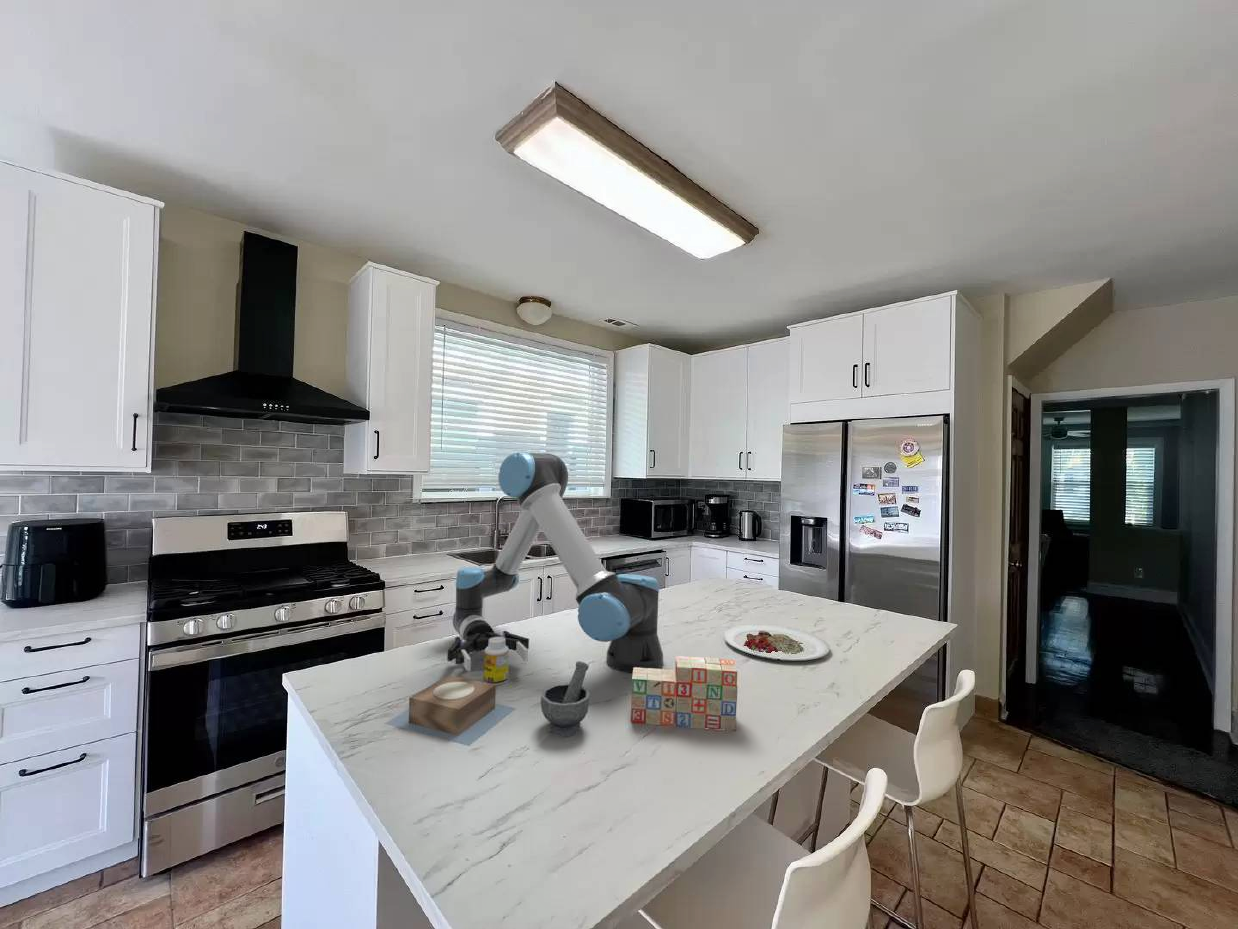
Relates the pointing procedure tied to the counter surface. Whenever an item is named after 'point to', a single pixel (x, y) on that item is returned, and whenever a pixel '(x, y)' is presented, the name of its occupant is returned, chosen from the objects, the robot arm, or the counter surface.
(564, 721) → the mortar and pestle
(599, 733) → the counter surface
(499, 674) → the supplement bottle
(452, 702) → the foundation block
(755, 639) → the plated food
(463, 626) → the robot arm
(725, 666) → the stack of blocks
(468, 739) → the mat
